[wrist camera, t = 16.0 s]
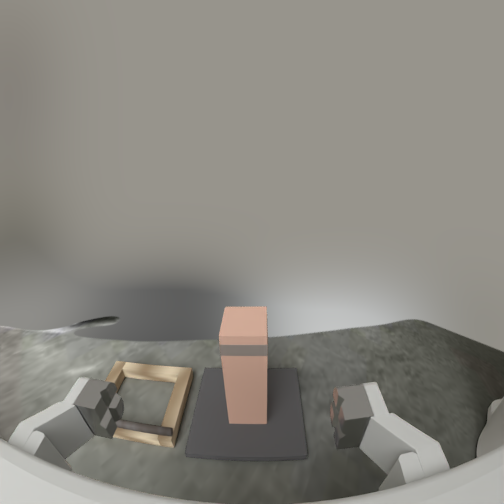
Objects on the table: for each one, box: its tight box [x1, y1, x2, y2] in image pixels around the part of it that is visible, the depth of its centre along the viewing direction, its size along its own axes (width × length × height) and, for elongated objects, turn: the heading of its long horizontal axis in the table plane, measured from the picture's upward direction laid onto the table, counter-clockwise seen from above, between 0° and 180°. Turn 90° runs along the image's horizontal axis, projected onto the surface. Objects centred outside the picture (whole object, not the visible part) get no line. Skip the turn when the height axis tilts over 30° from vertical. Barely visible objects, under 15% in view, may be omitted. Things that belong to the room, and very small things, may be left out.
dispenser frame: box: [105, 361, 193, 448], centre depth 31 cm, size 11×12×2 cm
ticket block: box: [219, 307, 268, 424], centre depth 29 cm, size 4×5×12 cm
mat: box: [185, 368, 307, 461], centre depth 31 cm, size 12×14×1 cm
